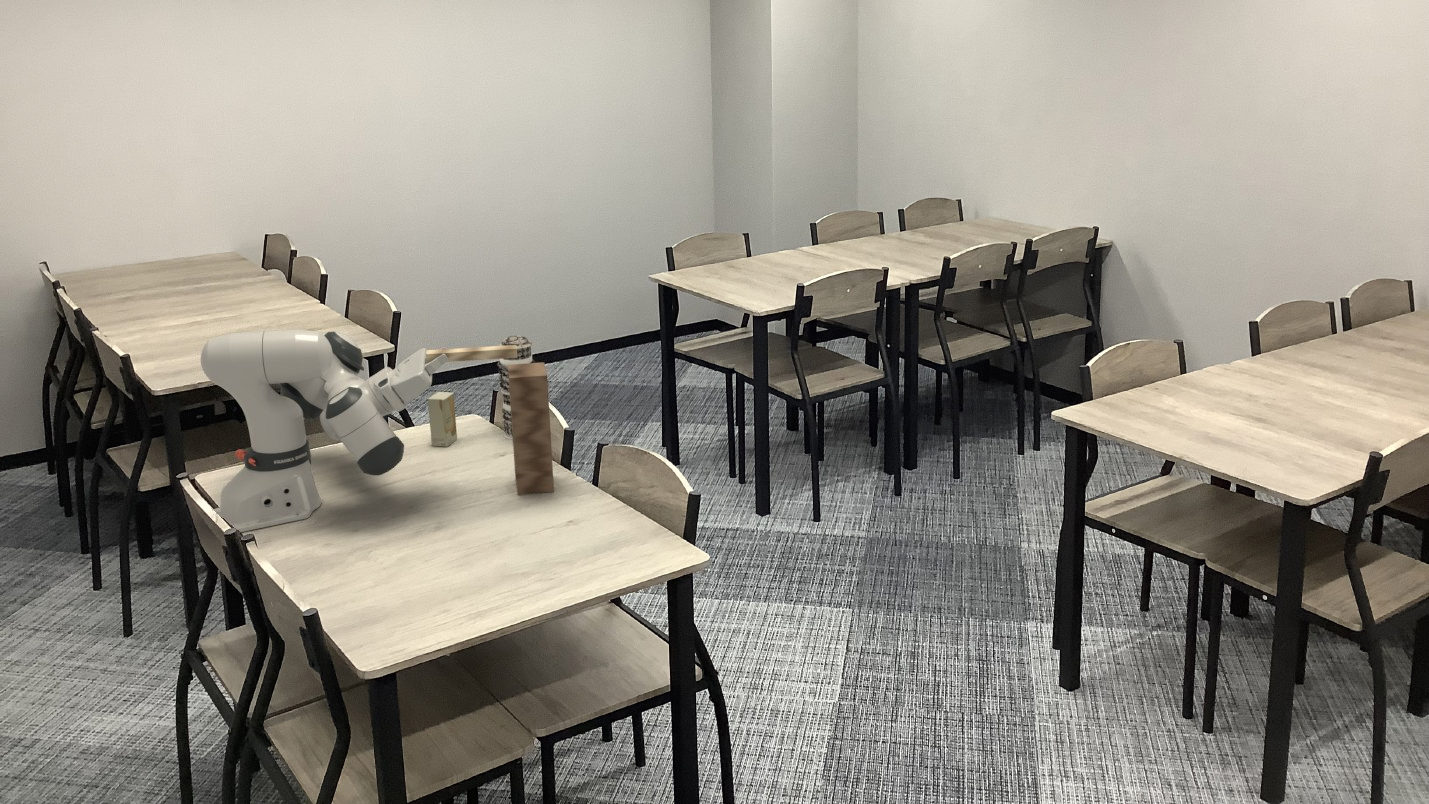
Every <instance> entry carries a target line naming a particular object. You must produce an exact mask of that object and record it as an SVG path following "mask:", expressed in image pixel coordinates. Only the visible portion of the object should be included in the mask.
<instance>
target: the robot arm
mask: <svg viewBox="0 0 1429 804" xmlns="http://www.w3.org/2000/svg"><path fill="white" fill-rule="evenodd" d="M440 349H447V348H446V347H444V346H443V347H441V348H440ZM427 350H428V349H427V348H425V347H423V348H420V349H418V350H416V352H414V353H412V354H411V355H410V356H408V357H406V358H405V359H404V360H402V361H400V363H399V364H398V365H397V366H396V367H395V368H394V369H392V368H391V367H389V366H385V367H384V368H382V369H381V370H379V371H378V372H377V373H375V374H373V375H372V376H370V377H369V378H366V380H365V379H363V378H361V377H359V374H360V371H361V372H362V371H364V370H365V367H364V366H363V359H364V357H363V351H362V349H361V348H360V347H359V345H358V343H357V342H356V341H355V340H354V339H353V338H351V336H349V335H346V334H344V333H341V332H337V331H328V332H326V333H325V334H323V332H321V331H315V330H309V329H308V330H306V329H297V328H295V329H294V328H293V329H292V328H291V329H279V330H277V329H276V330H259V331H244V332H243V331H242V332H230V333H227V334H222V335H219V336H215V337H211V338H209V339H208V340H207V341H206V343H205V344H204V346H203V347H202V350H201V353H200V365H201V368H202V369H201V370H202V371H203V373H204V374H205V376H206V377H207V378H208V380H209V381H210V382H211V383H213V384H215V385H216V386H219V387H221V388H222V389H224V390H225V391H226V392H228V393H229V394H230V395H231V397H233V398H234V400H235V401H236V402H237V403H238V405H239V406H240V408H241V409H242V411H243V415H244V416H245V420H246V424H247V427H248V433H249V438H250V445H251V446H250V448H249V449H248V450H247V452H246V450H243V449H241V448H240V449H237V450H236V452H235V458H237V459H238V460H240V461H243V463H244V467H242V468H241V470H239V472H238V473H236V474H235V476H233V478H231V479H230V481H228V482H227V483H226V485H224V486H223V488H222V490H221V493H220V507H219V506H218V507H217V508H214V509H213V510H214V511H215V512H216V513H217V514H219V516H221V517H222V518H224V519H225V520H226V521H227V522H228V523H229V524H230V525H232V526H233V527H234V528H236V529H237V530H239V531H240V532H239V533H243V532H248V531H254V530H257V529H263V528H267V527H271V526H277V525H281V524H287V523H291V522H296V521H300V520H305V519H307V518H309V517H310V516H311V515H312V513H313V512H314V511H315V510H316V509H318V508H319V507H320V506H321V505H322V504H323V498H322V497H321V495H320V492H319V491H318V488H317V484H316V482H315V478H314V474H313V470H312V466H311V464H312V453H311V452H312V451H311V447H310V443H309V440H308V439H307V436H306V427H305V421H304V420H308V421H316V420H317V419H319V420H320V421H319V422H320V425H321V427H322V429H323V431H324V432H325V434H327V436H328V437H329V438H331V440H334V441H336V442H341V443H342V445H343V446H344V447H345V449H346V450H347V451H348V452H349V454H350V455H351V456H352V458H353V459H354V460H355V462H356V464H357V465H358V467H359V468H360V470H361V472H362V473H363V474H367V475H370V476H382V475H384V474H386V473H388V472H390V471H391V470H393V469H395V468H396V466H398V464H400V462H401V461H402V460H403V457H404V454H405V444H404V443H403V441H402V440H401V439H400V438H399V436H397V434H396V433H395V431H394V430H393V429H392V428H391V426H390V425H389V424H388V422H387V421H386V419H385V418H384V417H385V416H387V415H391V414H392V413H394V412H397V413H399V412H401V411H403V410H404V409H405V408H406V407H407V404H409V403H410V402H412V401H413V400H415V399H416V398H418V397H419V396H420V395H421V394H423V393H424V392H425V391H427V390H428V389H429V388H430V387H431V385H433V384H432V383H433V373H436V371H437V370H439V369H440V368H441V367H442V366H443V365H445V364H446V363H449V362H448V356H447V355H446V354H445V353H442V354H441V355H439V356H437V358H436V359H434V360H433V361H431V362H429V363H427V357H426V351H427ZM272 384H273V385H274V384H278V386H279V388H280V394H279V393H278V392H276V391H275V390H274V389H273V388H272V387H271V385H272Z"/></svg>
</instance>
